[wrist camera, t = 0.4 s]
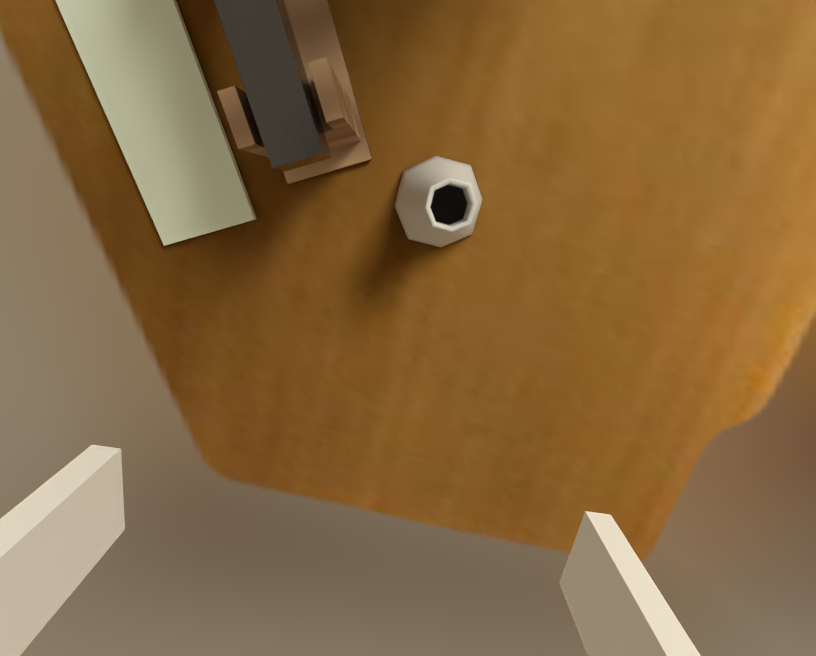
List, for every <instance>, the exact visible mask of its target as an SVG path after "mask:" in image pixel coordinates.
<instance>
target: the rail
mask: <svg viewBox="0 0 816 656" xmlns="http://www.w3.org/2000/svg"><path fill="white" fill-rule="evenodd" d="M214 3H215V5H216V8H217V11H218V14H219V17H220V20H221V23H222V26H223V29H224V31H225V34H226V37H227V40H228V43H229V46H230V49H231V52H232V54H233V57H234V60H235V63H236V66H237V69H238V72H239V75H240V78H241V80H242V83H243V86H244V89H245V92H246V95H247V98H248V101H249V103H250V106H251V109H252V112H253V115H254V118H255V121H256V124H257V127H258V129H259V132H260V135H261V138H262V141H263V144H264V147H265V150H266V152H267V155H268V158H269V161H270V164H271V167H272V168H274V169H279V170H283V171H289V170H292V169H295V168H299V167H302V166H305V165H309V164H312V163H316V162H319V161H322V160H326V159H329V158H332V157H331V153H330V150H329V147H328V143H327V140H326V137H325V134H324V130H323V127H322V124H321V120H320V117H319V114H318V111H317V107H316V104H315V101H314V97H313V94H312V91H311V88H310V84H309V81H308V78H307V74H306V71H305V68H304V65H303V61H302V58H301V55H300V51H299V48H298V45H297V42H296V38H295V35H294V32H293V28H292V25H291V22H290V19H289V15H288V12H287V9H286V5H285V2H284V0H214Z"/></svg>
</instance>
